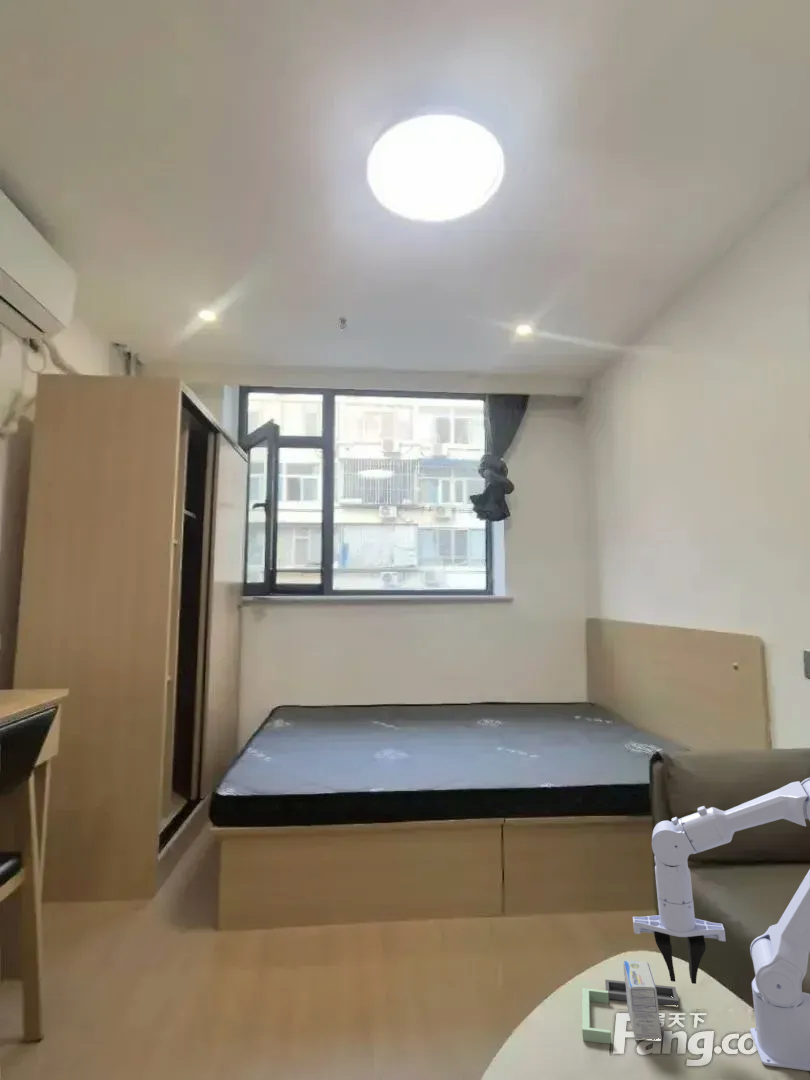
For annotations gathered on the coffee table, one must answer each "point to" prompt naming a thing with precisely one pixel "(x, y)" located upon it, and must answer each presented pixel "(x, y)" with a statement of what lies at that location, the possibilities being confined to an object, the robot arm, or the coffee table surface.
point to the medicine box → (642, 1000)
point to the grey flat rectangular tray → (666, 995)
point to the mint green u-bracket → (588, 1032)
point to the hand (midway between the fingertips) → (682, 979)
